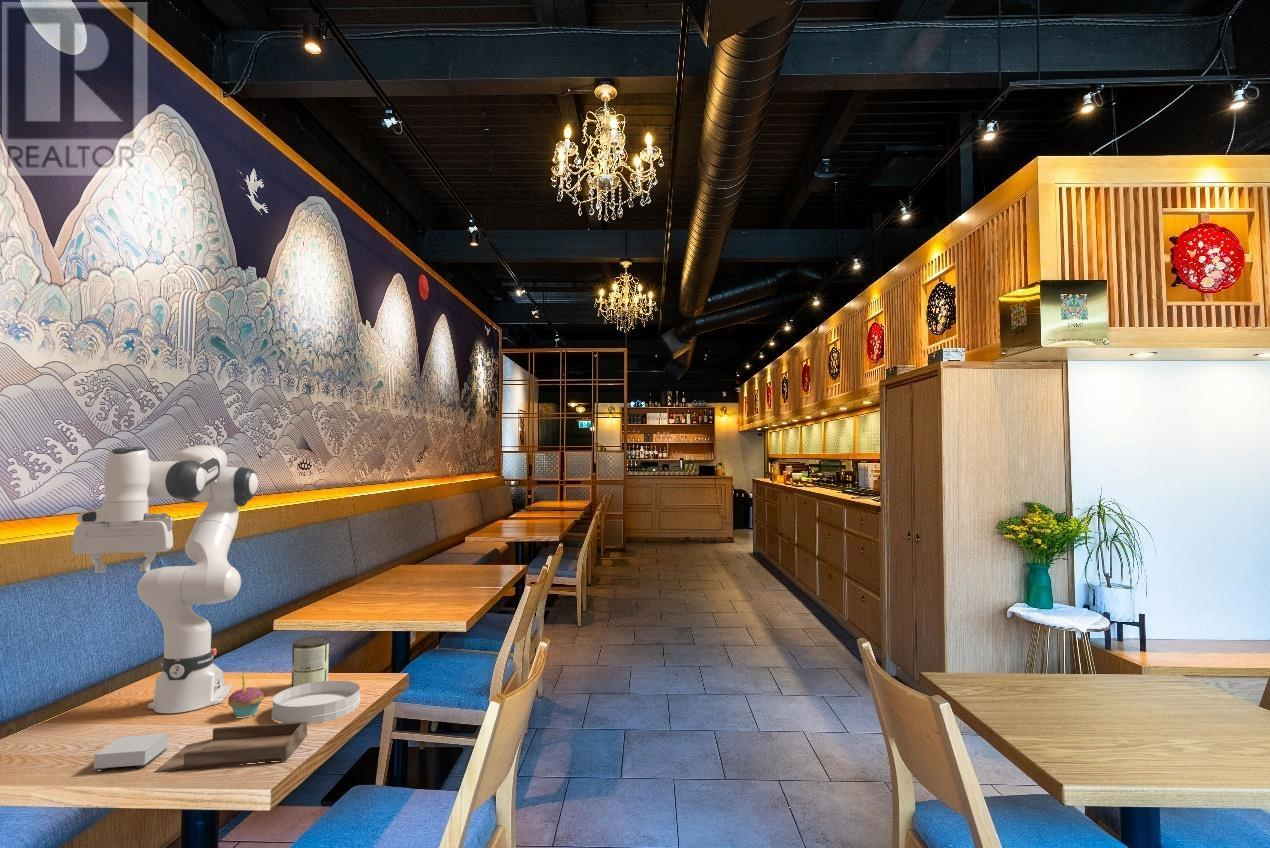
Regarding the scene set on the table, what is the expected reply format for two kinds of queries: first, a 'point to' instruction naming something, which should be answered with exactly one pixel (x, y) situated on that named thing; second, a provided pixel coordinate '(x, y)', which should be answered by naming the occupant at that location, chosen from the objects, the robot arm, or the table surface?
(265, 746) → the dock
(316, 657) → the coffee can
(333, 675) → the table surface
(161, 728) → the table surface
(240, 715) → the cupcake
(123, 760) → the grey square tile
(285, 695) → the dish
